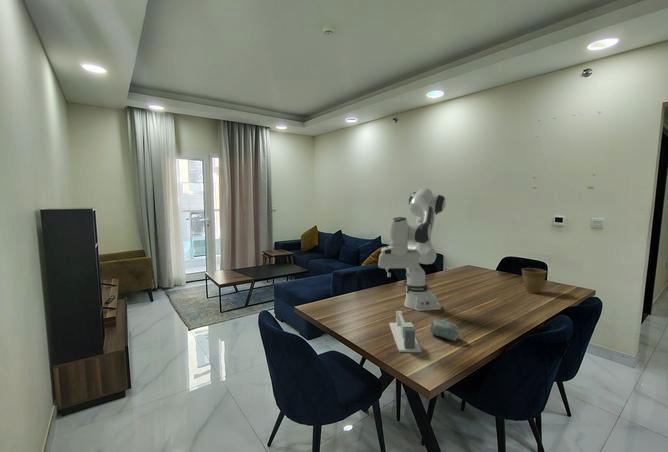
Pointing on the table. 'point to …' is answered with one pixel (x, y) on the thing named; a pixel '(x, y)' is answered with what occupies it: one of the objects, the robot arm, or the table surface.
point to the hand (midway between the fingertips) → (398, 276)
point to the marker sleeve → (405, 325)
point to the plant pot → (533, 279)
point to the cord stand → (409, 338)
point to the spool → (444, 329)
